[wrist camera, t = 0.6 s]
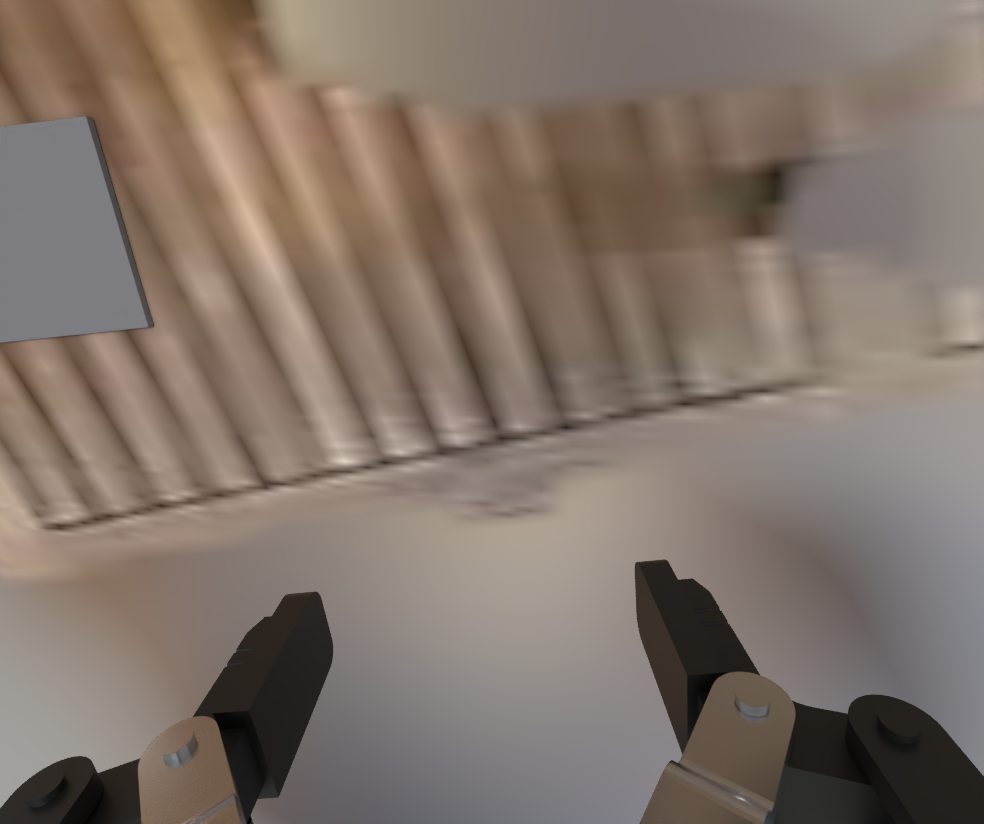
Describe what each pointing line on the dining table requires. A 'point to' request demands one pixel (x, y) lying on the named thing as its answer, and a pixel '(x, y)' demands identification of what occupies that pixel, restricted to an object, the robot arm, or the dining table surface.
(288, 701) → the robot arm
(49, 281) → the mat
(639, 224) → the dining table surface
